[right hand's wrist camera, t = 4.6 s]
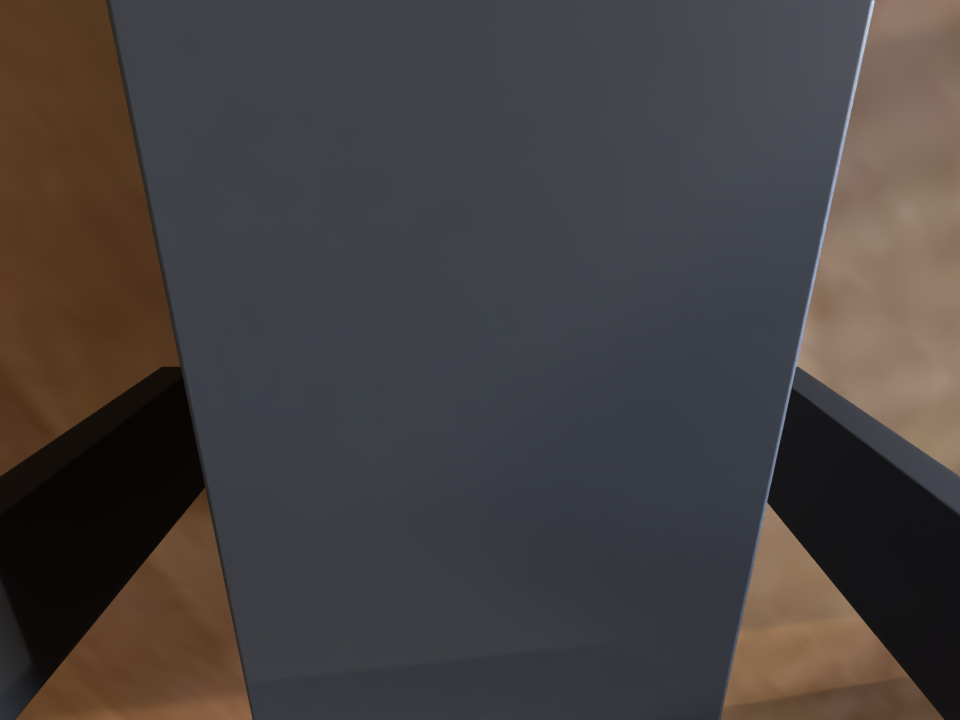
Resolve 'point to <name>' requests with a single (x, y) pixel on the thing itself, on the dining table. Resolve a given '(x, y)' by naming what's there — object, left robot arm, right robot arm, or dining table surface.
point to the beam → (488, 330)
